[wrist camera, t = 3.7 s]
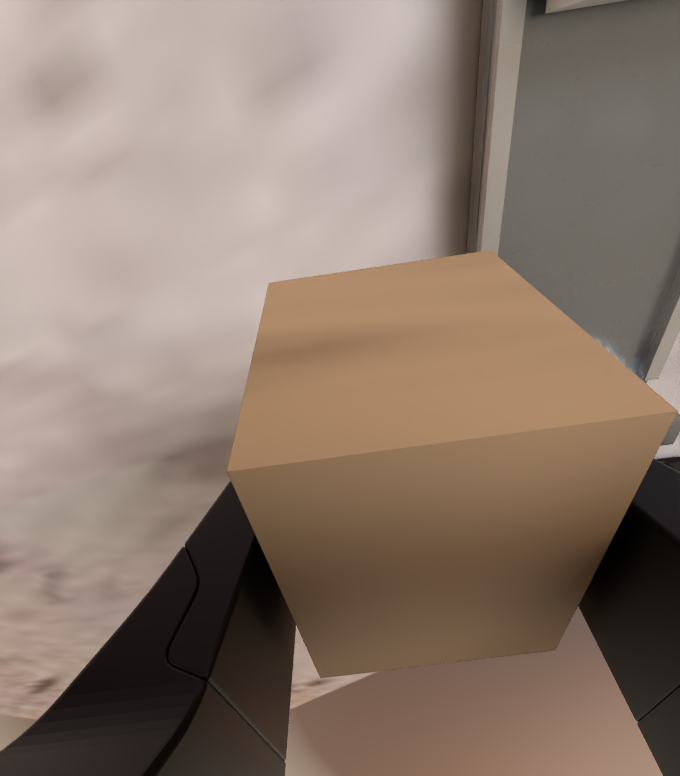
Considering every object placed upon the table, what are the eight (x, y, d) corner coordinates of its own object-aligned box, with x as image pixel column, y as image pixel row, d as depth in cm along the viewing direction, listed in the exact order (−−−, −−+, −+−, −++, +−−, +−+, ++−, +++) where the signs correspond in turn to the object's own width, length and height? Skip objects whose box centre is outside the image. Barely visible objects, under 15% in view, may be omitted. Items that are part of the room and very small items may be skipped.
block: (469, 455, 11) (555, 650, 7) (317, 476, 12) (320, 678, 8) (490, 249, 8) (677, 410, 4) (268, 283, 8) (226, 471, 4)
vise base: (627, 390, 23) (683, 442, 19) (456, 413, 23) (481, 469, 20) (850, -176, 11) (1097, -300, 7) (490, -113, 11) (569, -204, 8)
